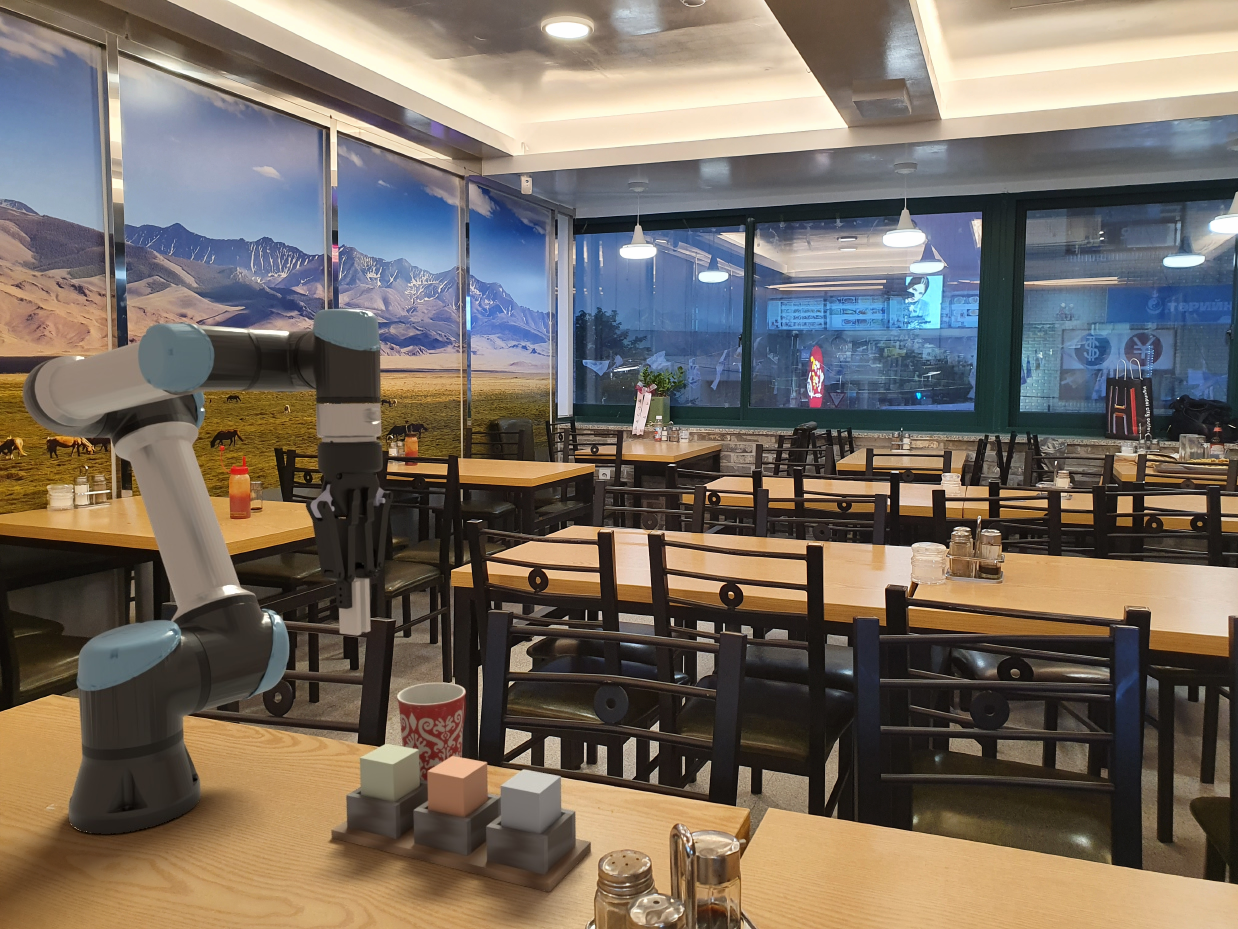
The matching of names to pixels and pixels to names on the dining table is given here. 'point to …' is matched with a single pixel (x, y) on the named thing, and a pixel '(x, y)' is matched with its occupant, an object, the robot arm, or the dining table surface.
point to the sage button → (389, 772)
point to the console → (464, 838)
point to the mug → (432, 722)
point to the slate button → (531, 801)
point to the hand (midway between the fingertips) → (355, 631)
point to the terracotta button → (457, 786)
